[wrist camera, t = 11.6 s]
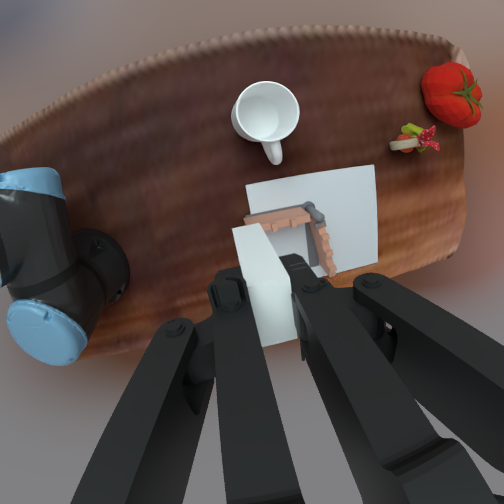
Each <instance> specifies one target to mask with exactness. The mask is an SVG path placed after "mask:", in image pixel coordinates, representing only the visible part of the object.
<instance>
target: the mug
mask: <svg viewBox="0 0 504 504" xmlns="http://www.w3.org/2000/svg"><path fill="white" fill-rule="evenodd" d="M231 119H232V124H233V127H234V129H235V130H236V132H237V133H238V134H239V135H240V136H241V137H243V138H245V139H247V140H249V141H254V142H261V143H262V145H263V148H264V151H265V153H266V155H267V157H268V159H269V160H270V162H271V163H272V164H274V165H278V164H280V163H281V161H282V149H281V144H280V140H281V139H283V138H285V137H287V136H288V135H289V134H290V133H291V132H292V131H293V130H294V128H295V127H296V125H297V123H298V119H299V106H298V103H297V100H296V98H295V97H294V95H293V94H292V93H291V91H290V90H288V89H287V88H286V87H284V86H283V85H281V84H278V83H275V82H269V81H263V82H258V83H255V84H252V85H251V86H249V87H247V88H246V89H245V90H244V91H243V92H242V93H241V95H240V96H239V98H238V100H237V101H236V103H235V105H234V107H233V109H232V114H231Z"/></svg>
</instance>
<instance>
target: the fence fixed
mask: <svg viewBox="0 0 504 504" xmlns="http://www.w3.org/2000/svg"><path fill="white" fill-rule="evenodd" d="M310 215H311V216H312V217H313V218H314V219H316V220H317V221H318V222H322V221H324V219H325V216H324V214H322V213H321V212H319V211H318V210H317V209H315V208H314V207H312V206H311V205H306V206H305V210H304V209H303V208H301V207H297V208H292V209H287V210H282V211H277V212H272V213H267V214H262V215H257V216H252V217H248V218H243V219H244V224H245V226H246V225H251V224H256V223H260V225H261V227H262V229H263V230H264V231H268V230H272V231H273V232H276V231H278V228H282V227H287V226H291V227H292V228H295V227H297V224H302V223H306V222H311V219H310Z"/></svg>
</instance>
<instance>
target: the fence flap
mask: <svg viewBox="0 0 504 504" xmlns="http://www.w3.org/2000/svg"><path fill="white" fill-rule="evenodd" d="M310 219H311V222H309V224H310V228H311V231H312V235H313V239H314V243H315V246H316V250H317V254H318V258H319V262H320V266H321V267H322V268H323V269H324V271H325V272H326V273H327V274H328V276H329V277H332V276H335V275H336V272H335V271H337V267H336V265H335V264H334V263H333V258H332V255H334V254H333V250H332V249H331V248H330V245H329V241H328V239H330V236H329V234H328V233H327V232H326V229H325V227H326V221H325V220H324V221H322V222H318V221H317V220H316V219H314V218H313V217H312V216H310Z"/></svg>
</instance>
